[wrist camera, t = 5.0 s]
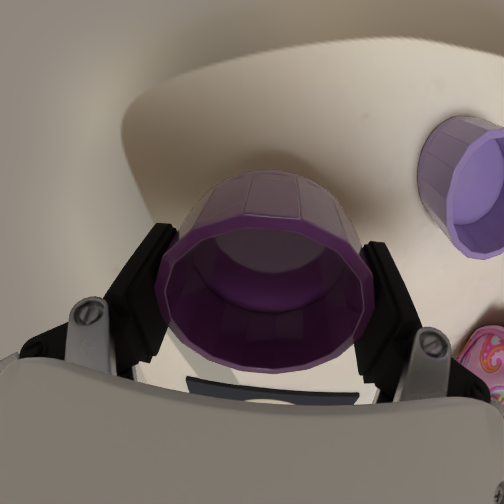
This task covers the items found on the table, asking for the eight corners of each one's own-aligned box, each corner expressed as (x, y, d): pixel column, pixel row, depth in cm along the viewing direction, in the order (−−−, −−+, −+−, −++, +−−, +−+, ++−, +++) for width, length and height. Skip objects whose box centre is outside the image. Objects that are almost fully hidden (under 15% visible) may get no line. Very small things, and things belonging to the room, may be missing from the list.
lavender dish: (404, 217, 14) (427, 252, 11) (429, 99, 10) (466, 108, 7) (484, 233, 13) (511, 264, 10) (512, 137, 9) (549, 155, 7)
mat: (205, 433, 37) (204, 436, 37) (186, 376, 26) (185, 380, 26) (316, 444, 36) (316, 447, 35) (359, 392, 25) (359, 397, 24)
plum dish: (193, 302, 13) (174, 361, 10) (179, 165, 9) (136, 207, 7) (333, 315, 13) (340, 377, 10) (370, 181, 9) (406, 230, 6)
